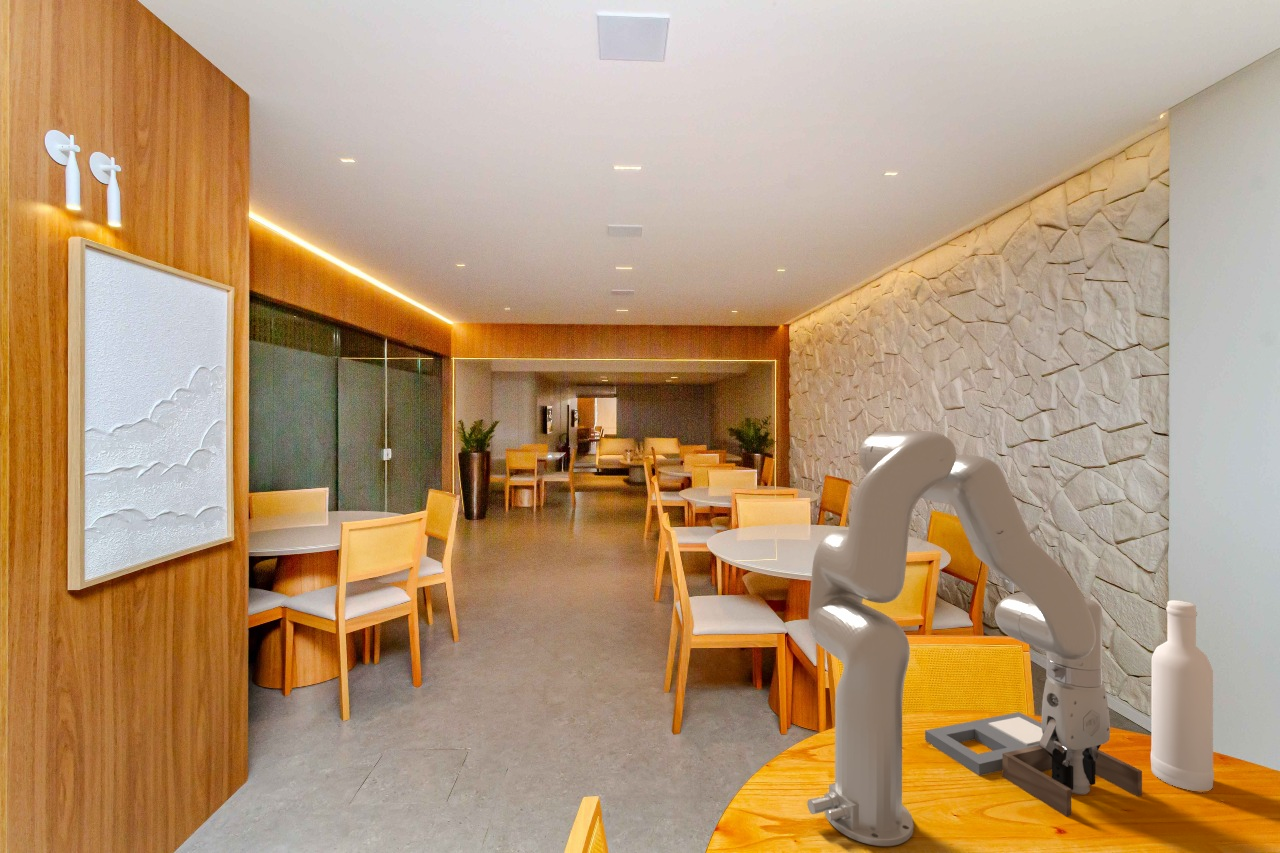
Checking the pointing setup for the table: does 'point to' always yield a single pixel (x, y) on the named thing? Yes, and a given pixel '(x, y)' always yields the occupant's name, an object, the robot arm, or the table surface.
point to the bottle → (1182, 705)
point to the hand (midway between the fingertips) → (1073, 781)
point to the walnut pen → (1028, 776)
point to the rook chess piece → (1079, 774)
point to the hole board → (986, 740)
